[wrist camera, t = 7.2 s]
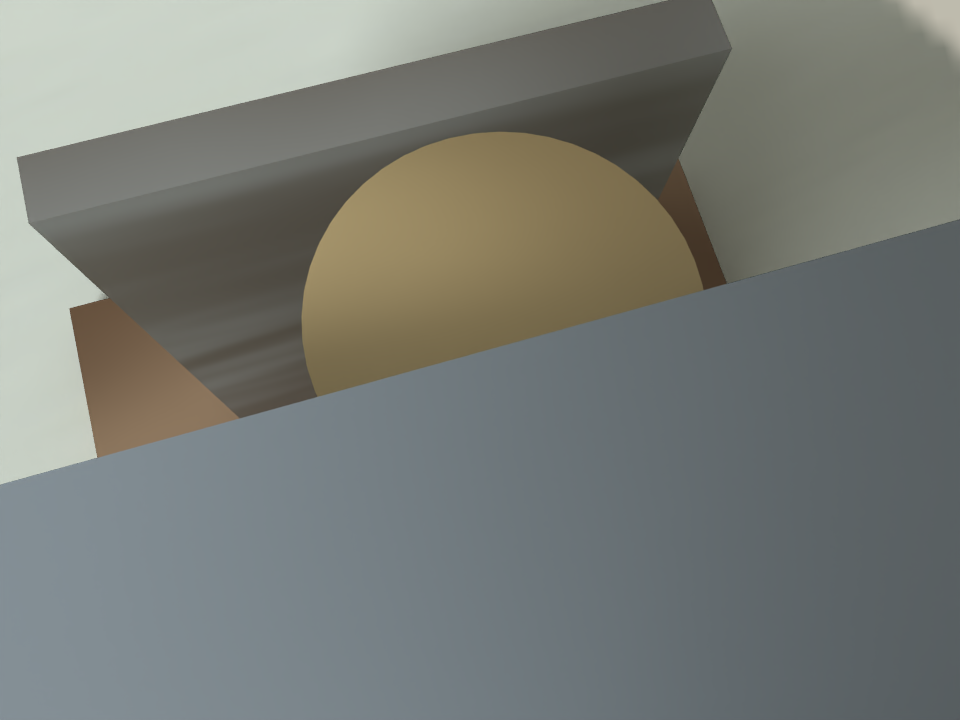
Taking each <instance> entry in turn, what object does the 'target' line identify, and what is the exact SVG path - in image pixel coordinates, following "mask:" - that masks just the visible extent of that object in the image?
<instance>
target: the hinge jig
mask: <svg viewBox="0 0 960 720" xmlns="http://www.w3.org/2000/svg"><path fill="white" fill-rule="evenodd" d="M731 49H732V47H731V45H730V43H729V40H728V38H727V35H726V33H725V31H724V28H723V26H722V23H721V21H720V19H719V16H718V14H717V11H716V9H715V7H714V4H713V2H712V0H668V1H664V2H660V3H656V4H651V5H647V6H643V7H639V8H635V9H631V10H627V11H622V12H618V13H614V14H610V15H606V16H602V17H597V18H593V19H589V20H585V21H581V22H577V23H573V24H568V25H564V26H560V27H556V28H552V29H548V30H544V31H539V32H535V33H531V34H527V35H523V36H519V37H515V38H510V39H506V40H502V41H498V42H494V43H490V44H486V45H481V46H477V47H473V48H469V49H465V50H461V51H457V52H452V53H448V54H444V55H440V56H436V57H432V58H428V59H423V60H419V61H415V62H411V63H407V64H403V65H398V66H394V67H390V68H386V69H382V70H378V71H374V72H369V73H365V74H361V75H357V76H353V77H349V78H345V79H340V80H336V81H332V82H328V83H324V84H320V85H316V86H311V87H307V88H303V89H299V90H295V91H291V92H287V93H282V94H278V95H274V96H270V97H266V98H262V99H258V100H253V101H249V102H245V103H241V104H237V105H233V106H229V107H224V108H220V109H216V110H212V111H208V112H204V113H199V114H195V115H191V116H187V117H183V118H179V119H175V120H170V121H166V122H162V123H158V124H154V125H150V126H146V127H141V128H137V129H133V130H129V131H125V132H121V133H117V134H112V135H108V136H104V137H100V138H96V139H92V140H88V141H83V142H79V143H75V144H71V145H67V146H63V147H59V148H54V149H50V150H46V151H42V152H38V153H34V154H30V155H25V156H21V157H17V161H18V166H19V172H20V178H21V183H22V189H23V194H24V200H25V205H26V211H27V216H28V222H29V224H30V225H31V226H32V227H33V228H34V229H35V230H37V231H38V232H39V233H40V234H41V235H42V236H43V237H44V238H45V239H46V240H47V241H48V242H50V243H51V244H52V245H53V246H54V247H55V248H56V249H57V250H58V251H59V252H60V253H61V254H62V255H64V256H65V257H66V258H67V259H68V260H69V261H70V262H71V263H72V264H73V265H74V266H75V267H77V268H78V269H79V270H80V271H81V272H82V273H83V274H84V275H85V276H86V277H87V278H88V279H90V280H91V281H92V282H93V283H94V284H95V285H96V286H97V287H98V288H99V289H100V290H101V291H103V292H104V293H105V294H106V295H107V296H108V297H109V298H108V299H104V300H100V301H96V302H92V303H89V304H85V305H81V306H77V307H73V308H69V309H70V314H71V320H72V325H73V330H74V336H75V341H76V346H77V351H78V357H79V362H80V367H81V373H82V378H83V383H84V389H85V394H86V399H87V405H88V410H89V415H90V421H91V426H92V431H93V437H94V442H95V447H96V453H97V458H99V457H102V456H106V455H109V454H113V453H117V452H120V451H124V450H128V449H131V448H135V447H138V446H142V445H146V444H149V443H153V442H157V441H160V440H164V439H167V438H171V437H175V436H178V435H182V434H185V433H189V432H193V431H196V430H200V429H204V428H207V427H211V426H214V425H218V424H222V423H225V422H229V421H232V420H236V419H240V418H243V417H247V416H251V415H254V414H258V413H261V412H265V411H269V410H272V409H276V408H280V407H283V406H287V405H290V404H294V403H298V402H301V401H305V400H308V399H312V398H316V397H317V395H316V393H315V390H314V387H313V384H312V381H311V378H310V375H309V372H308V369H307V364H306V358H305V353H304V347H303V342H302V317H301V316H302V306H303V296H304V289H305V285H306V281H307V276H308V272H309V268H310V265H311V263H312V260H313V257H314V255H315V252H316V250H317V247H318V245H319V243H320V241H321V239H322V237H323V235H324V234H325V232H326V230H327V228H328V226H329V224H330V223H331V221H332V220H333V218H334V217H335V216H336V214H337V213H338V212H339V210H340V209H341V208H342V206H343V205H344V204H345V202H346V201H347V200H348V199H349V198H350V197H351V196H352V195H353V194H354V193H355V192H356V191H357V190H358V189H359V188H360V187H361V186H362V185H363V184H364V183H365V182H366V181H368V180H369V179H370V178H371V177H373V176H374V175H375V174H376V173H378V172H379V171H380V170H381V169H383V168H384V167H386V166H388V165H389V164H391V163H392V162H394V161H396V160H397V159H399V158H401V157H402V156H404V155H406V154H409V153H411V152H413V151H415V150H417V149H419V148H422V147H424V146H426V145H429V144H432V143H436V142H439V141H442V140H445V139H448V138H453V137H458V136H463V135H468V134H474V133H487V132H516V133H528V134H534V135H540V136H546V137H550V138H554V139H557V140H561V141H564V142H568V143H571V144H574V145H576V146H579V147H581V148H584V149H586V150H588V151H591V152H593V153H595V154H597V155H599V156H601V157H603V158H604V159H606V160H608V161H610V162H611V163H613V164H615V165H617V166H618V167H619V168H621V169H622V170H624V171H625V172H626V173H628V174H629V175H630V176H632V177H633V178H634V179H636V180H637V181H638V182H639V183H640V184H641V185H642V186H643V187H645V188H646V189H647V190H648V191H649V192H650V193H651V194H652V195H653V196H654V197H655V198H656V199H657V200H658V202H659V203H660V204H661V205H662V206H663V208H664V209H665V210H666V211H667V213H668V214H669V215H670V216H671V217H672V219H673V221H674V222H675V224H676V225H677V227H678V229H679V230H680V232H681V233H682V235H683V237H684V238H685V240H686V242H687V245H688V247H689V249H690V251H691V253H692V255H693V258H694V260H695V262H696V266H697V269H698V272H699V275H700V278H701V282H702V285H703V290H706V289H710V288H714V287H717V286H721V285H724V284H727V283H726V280H725V278H724V275H723V273H722V270H721V267H720V265H719V262H718V260H717V257H716V255H715V252H714V249H713V247H712V244H711V242H710V239H709V236H708V234H707V231H706V229H705V226H704V224H703V221H702V218H701V216H700V213H699V211H698V208H697V205H696V203H695V200H694V198H693V195H692V192H691V190H690V187H689V185H688V182H687V180H686V177H685V174H684V172H683V169H682V167H681V164H680V161H679V159H678V158H679V156H680V154H681V152H682V150H683V148H684V146H685V143H686V141H687V139H688V137H689V135H690V133H691V131H692V129H693V127H694V125H695V123H696V121H697V119H698V117H699V115H700V113H701V111H702V109H703V107H704V105H705V103H706V101H707V98H708V96H709V94H710V92H711V90H712V88H713V86H714V84H715V82H716V80H717V78H718V76H719V74H720V72H721V70H722V68H723V66H724V64H725V62H726V60H727V58H728V56H729V53H730V51H731Z"/></svg>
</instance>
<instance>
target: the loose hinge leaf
mask: <svg viewBox="0 0 960 720" xmlns="http://www.w3.org/2000/svg"><path fill="white" fill-rule="evenodd" d="M301 317H302V342H303V347H304V353H305V358H306V364H307V369H308V372H309V375H310V378H311V381H312V384H313V387H314V390H315V393H316V395H317V397H316V398H312V399H308V400H305V401H301V402H298V403H294V404H290V405H287V406H283V407H280V408H276V409H272V410H269V411H265V412H261V413H258V414H254V415H251V416H247V417H243V418H240V419H236V420H232V421H229V422H225V423H222V424H218V425H214V426H211V427H207V428H204V429H200V430H196V431H193V432H189V433H185V434H182V435H178V436H175V437H171V438H167V439H164V440H160V441H157V442H153V443H149V444H146V445H142V446H138V447H135V448H131V449H128V450H124V451H120V452H117V453H113V454H109V455H106V456H102V457H99V458H95V459H91V460H88V461H84V462H81V463H77V464H73V465H70V466H66V467H62V468H59V469H55V470H52V471H48V472H44V473H41V474H37V475H34V476H30V477H26V478H23V479H19V480H15V481H12V482H8V483H5V484H1V485H0V720H960V220H956V221H952V222H949V223H945V224H942V225H938V226H934V227H931V228H927V229H923V230H920V231H916V232H913V233H909V234H905V235H902V236H898V237H895V238H891V239H887V240H884V241H880V242H876V243H873V244H869V245H866V246H862V247H858V248H855V249H851V250H847V251H844V252H840V253H837V254H833V255H829V256H826V257H822V258H819V259H815V260H811V261H808V262H804V263H800V264H797V265H793V266H790V267H786V268H782V269H779V270H775V271H772V272H768V273H764V274H761V275H757V276H753V277H750V278H746V279H743V280H739V281H735V282H732V283H728V284H724V285H721V286H717V287H714V288H710V289H706V290H703V285H702V282H701V278H700V275H699V272H698V269H697V266H696V262H695V260H694V258H693V255H692V253H691V251H690V249H689V247H688V245H687V242H686V240H685V238H684V237H683V235H682V233H681V232H680V230H679V229H678V227H677V225H676V224H675V222H674V221H673V219H672V217H671V216H670V215H669V214H668V213H667V211H666V210H665V209H664V208H663V206H662V205H661V204H660V203H659V202H658V200H657V199H656V198H655V197H654V196H653V195H652V194H651V193H650V192H649V191H648V190H647V189H646V188H645V187H643V186H642V185H641V184H640V183H639V182H638V181H637V180H636V179H634V178H633V177H632V176H630V175H629V174H628V173H626V172H625V171H624V170H622V169H621V168H619V167H618V166H617V165H615V164H613V163H611V162H610V161H608V160H606V159H604V158H603V157H601V156H599V155H597V154H595V153H593V152H591V151H588V150H586V149H584V148H581V147H579V146H576V145H574V144H571V143H568V142H564V141H561V140H557V139H554V138H550V137H546V136H540V135H534V134H528V133H516V132H487V133H474V134H468V135H463V136H458V137H453V138H448V139H445V140H442V141H439V142H436V143H432V144H429V145H426V146H424V147H422V148H419V149H417V150H415V151H413V152H411V153H409V154H406V155H404V156H402V157H401V158H399V159H397V160H396V161H394V162H392V163H391V164H389V165H388V166H386V167H384V168H383V169H381V170H380V171H379V172H378V173H376V174H375V175H374V176H373V177H371V178H370V179H369V180H368V181H366V182H365V183H364V184H363V185H362V186H361V187H360V188H359V189H358V190H357V191H356V192H355V193H354V194H353V195H352V196H351V197H350V198H349V199H348V200H347V201H346V202H345V204H344V205H343V206H342V208H341V209H340V210H339V212H338V213H337V214H336V216H335V217H334V218H333V220H332V221H331V223H330V224H329V226H328V228H327V230H326V232H325V234H324V235H323V237H322V239H321V241H320V243H319V245H318V247H317V250H316V252H315V255H314V257H313V260H312V263H311V265H310V268H309V272H308V276H307V281H306V285H305V289H304V296H303V306H302V316H301Z"/></svg>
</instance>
